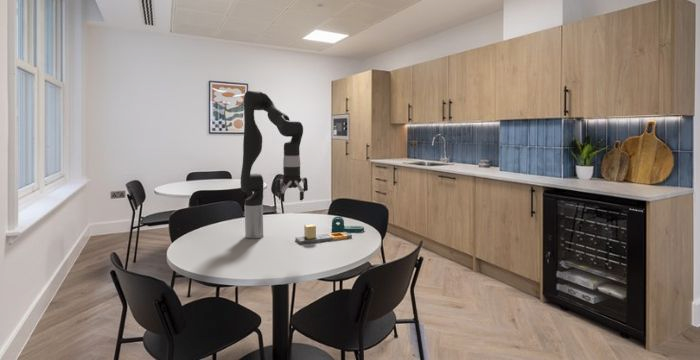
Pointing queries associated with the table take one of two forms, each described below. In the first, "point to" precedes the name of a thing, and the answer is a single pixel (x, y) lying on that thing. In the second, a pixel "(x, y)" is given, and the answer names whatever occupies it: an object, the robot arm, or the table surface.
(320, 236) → the rail
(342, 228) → the bracket
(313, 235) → the block
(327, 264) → the table surface
